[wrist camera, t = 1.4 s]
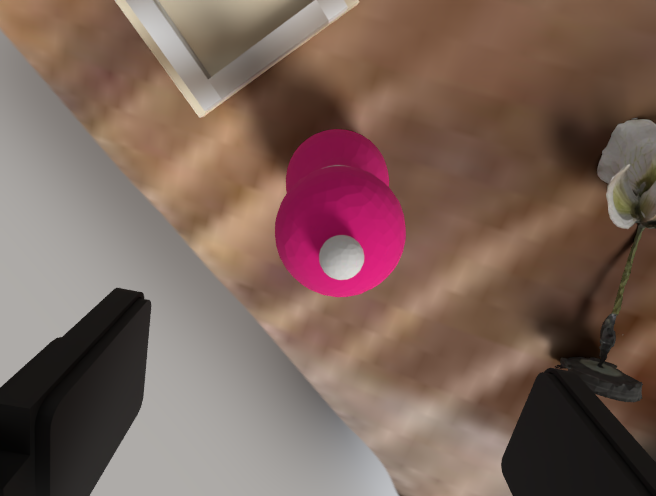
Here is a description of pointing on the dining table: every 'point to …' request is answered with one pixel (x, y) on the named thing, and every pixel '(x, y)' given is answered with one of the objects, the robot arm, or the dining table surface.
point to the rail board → (226, 39)
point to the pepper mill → (339, 216)
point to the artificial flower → (625, 210)
